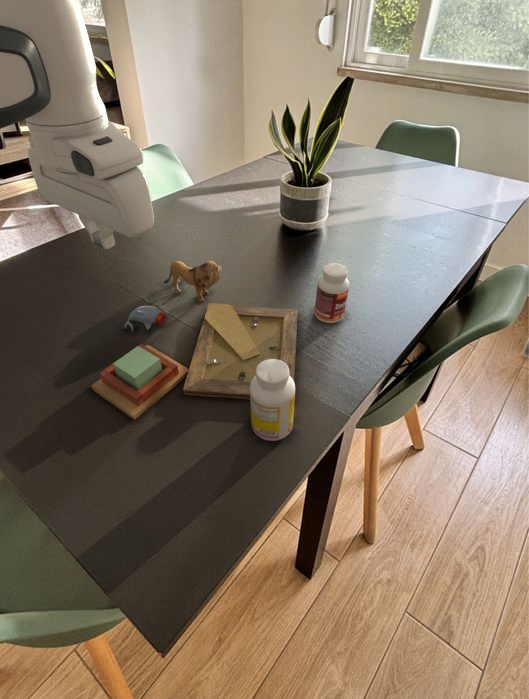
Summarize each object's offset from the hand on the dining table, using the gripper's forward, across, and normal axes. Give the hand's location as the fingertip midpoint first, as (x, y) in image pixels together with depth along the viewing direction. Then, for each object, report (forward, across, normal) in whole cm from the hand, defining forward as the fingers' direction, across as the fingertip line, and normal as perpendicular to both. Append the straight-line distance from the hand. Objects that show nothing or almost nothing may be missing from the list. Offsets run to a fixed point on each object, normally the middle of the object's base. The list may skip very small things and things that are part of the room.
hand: (104, 244), depth 61 cm
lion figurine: (+25, -8, +23) cm, 35 cm away
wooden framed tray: (+25, +3, -2) cm, 25 cm away
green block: (+24, +3, -2) cm, 24 cm away
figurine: (+25, -8, +9) cm, 28 cm away
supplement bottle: (+25, +27, +4) cm, 37 cm away
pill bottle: (+25, +20, +34) cm, 47 cm away
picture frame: (+25, +13, +15) cm, 32 cm away
